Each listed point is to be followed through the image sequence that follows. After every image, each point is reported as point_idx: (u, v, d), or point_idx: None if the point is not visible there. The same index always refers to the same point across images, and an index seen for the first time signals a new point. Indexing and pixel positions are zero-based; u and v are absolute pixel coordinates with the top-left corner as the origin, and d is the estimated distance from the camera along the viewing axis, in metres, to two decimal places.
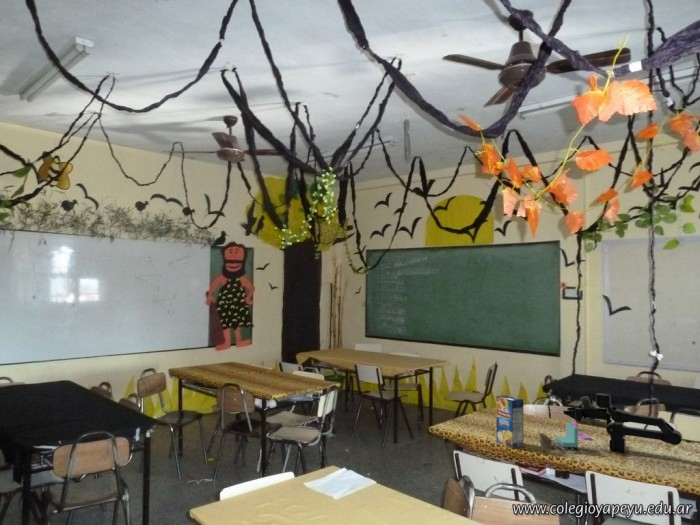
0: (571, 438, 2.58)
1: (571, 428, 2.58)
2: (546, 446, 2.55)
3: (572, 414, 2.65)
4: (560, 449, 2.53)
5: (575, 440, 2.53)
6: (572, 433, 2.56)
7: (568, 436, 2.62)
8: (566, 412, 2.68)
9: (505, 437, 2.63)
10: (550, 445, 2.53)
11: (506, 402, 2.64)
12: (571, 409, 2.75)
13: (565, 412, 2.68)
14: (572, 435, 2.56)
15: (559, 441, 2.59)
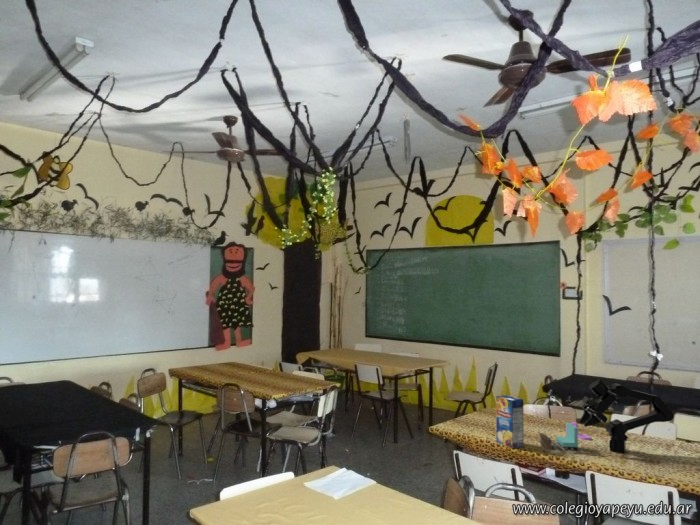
0: (571, 438, 2.58)
1: (571, 428, 2.58)
2: (546, 446, 2.55)
3: (593, 420, 2.55)
4: (560, 449, 2.53)
5: (575, 440, 2.53)
6: (572, 433, 2.56)
7: (568, 436, 2.62)
8: (587, 423, 2.55)
9: (505, 437, 2.63)
10: (550, 445, 2.53)
11: (506, 402, 2.64)
12: (583, 420, 2.62)
13: (587, 424, 2.55)
14: (572, 435, 2.56)
15: (559, 441, 2.59)
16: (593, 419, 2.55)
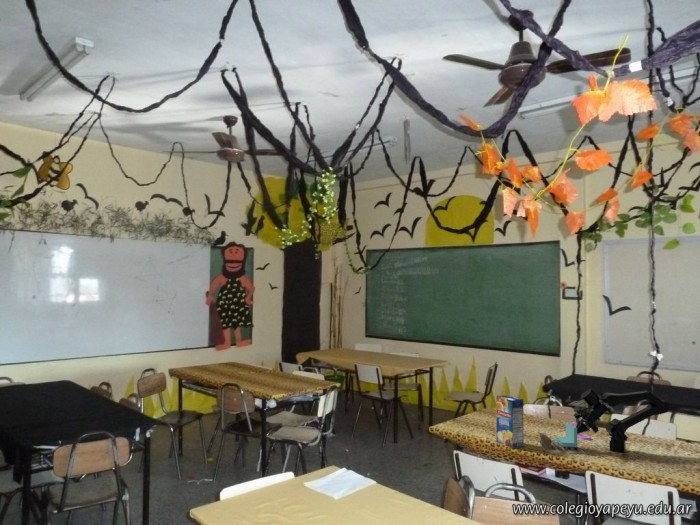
0: (571, 438, 2.58)
1: (571, 428, 2.58)
2: (546, 446, 2.55)
3: (582, 428, 2.57)
4: (560, 449, 2.53)
5: (575, 440, 2.53)
6: (571, 433, 2.56)
7: (568, 436, 2.62)
8: None
9: (505, 437, 2.63)
10: (550, 445, 2.53)
11: (506, 402, 2.64)
12: None
13: None
14: (572, 435, 2.56)
15: (559, 441, 2.59)
16: (582, 427, 2.58)
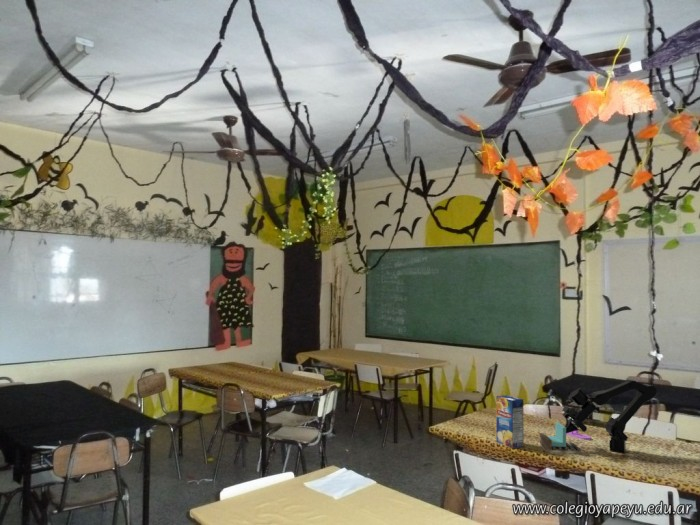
0: (560, 438, 2.58)
1: (560, 428, 2.58)
2: (546, 446, 2.55)
3: (571, 428, 2.58)
4: (560, 449, 2.53)
5: (563, 440, 2.54)
6: (560, 433, 2.57)
7: (557, 436, 2.62)
8: None
9: (505, 437, 2.63)
10: (550, 445, 2.53)
11: (506, 402, 2.64)
12: None
13: None
14: (561, 434, 2.57)
15: None
16: (571, 427, 2.58)
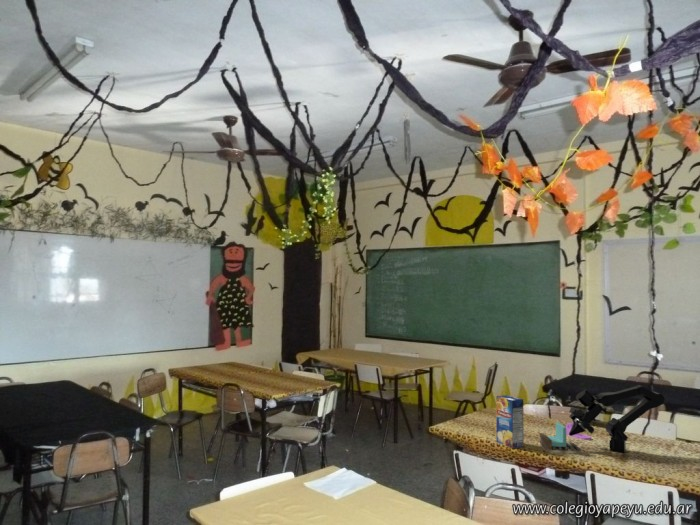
0: (560, 438, 2.58)
1: (560, 428, 2.58)
2: (546, 446, 2.55)
3: (578, 429, 2.58)
4: (560, 449, 2.53)
5: (564, 440, 2.54)
6: (561, 433, 2.57)
7: (557, 436, 2.62)
8: (572, 432, 2.58)
9: (505, 437, 2.63)
10: (550, 445, 2.53)
11: (506, 402, 2.64)
12: None
13: (572, 433, 2.58)
14: (561, 434, 2.57)
15: None
16: (578, 428, 2.58)
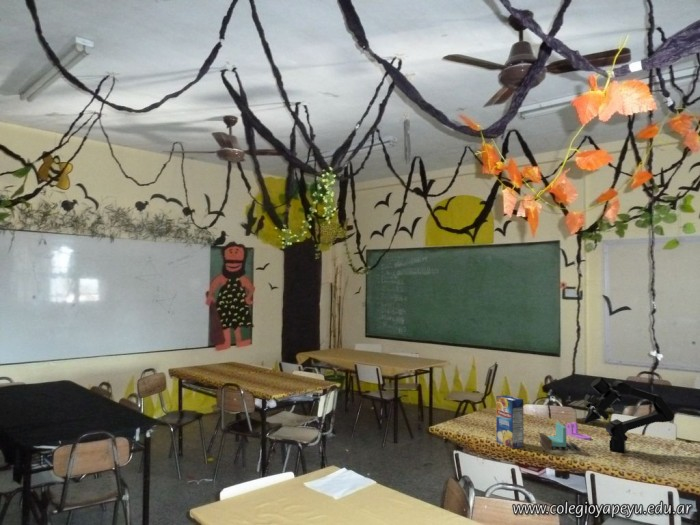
0: (560, 438, 2.58)
1: (560, 428, 2.58)
2: (546, 446, 2.55)
3: (593, 416, 2.58)
4: (560, 449, 2.53)
5: (564, 440, 2.54)
6: (561, 433, 2.57)
7: (557, 436, 2.62)
8: (587, 420, 2.58)
9: (505, 437, 2.63)
10: (550, 445, 2.53)
11: (506, 402, 2.64)
12: None
13: (587, 420, 2.58)
14: (561, 434, 2.57)
15: None
16: (593, 415, 2.58)
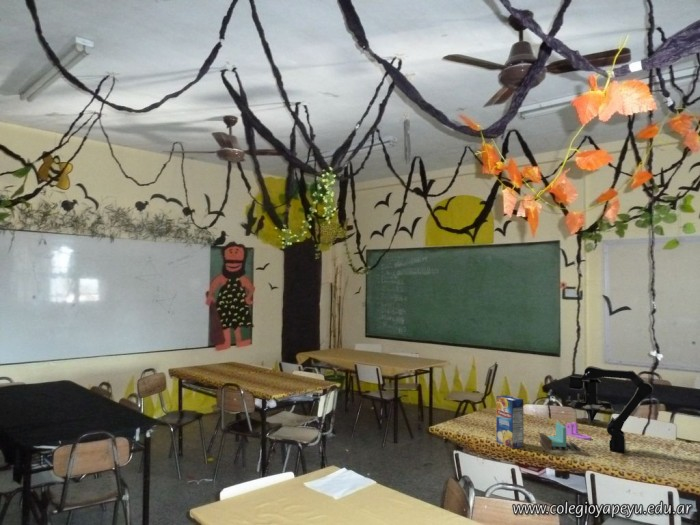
0: (560, 438, 2.58)
1: (560, 428, 2.58)
2: (546, 446, 2.55)
3: (588, 411, 2.64)
4: (560, 449, 2.53)
5: (564, 440, 2.54)
6: (561, 433, 2.57)
7: (557, 436, 2.62)
8: (589, 417, 2.64)
9: (505, 437, 2.63)
10: (550, 445, 2.53)
11: (506, 402, 2.64)
12: None
13: (589, 418, 2.64)
14: (561, 434, 2.57)
15: None
16: None
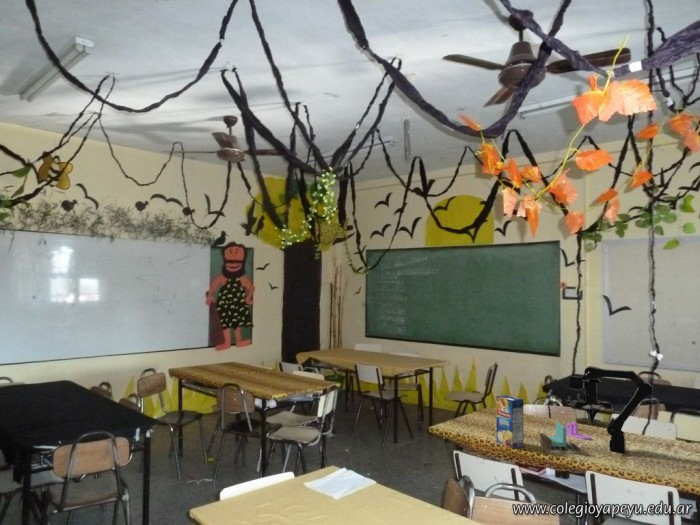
0: (560, 438, 2.58)
1: (560, 428, 2.58)
2: (546, 446, 2.55)
3: (588, 411, 2.64)
4: (560, 449, 2.53)
5: (564, 440, 2.54)
6: (561, 433, 2.57)
7: (557, 436, 2.62)
8: (589, 417, 2.64)
9: (505, 437, 2.63)
10: (550, 445, 2.53)
11: (506, 402, 2.64)
12: None
13: (589, 418, 2.64)
14: (561, 434, 2.57)
15: None
16: None
